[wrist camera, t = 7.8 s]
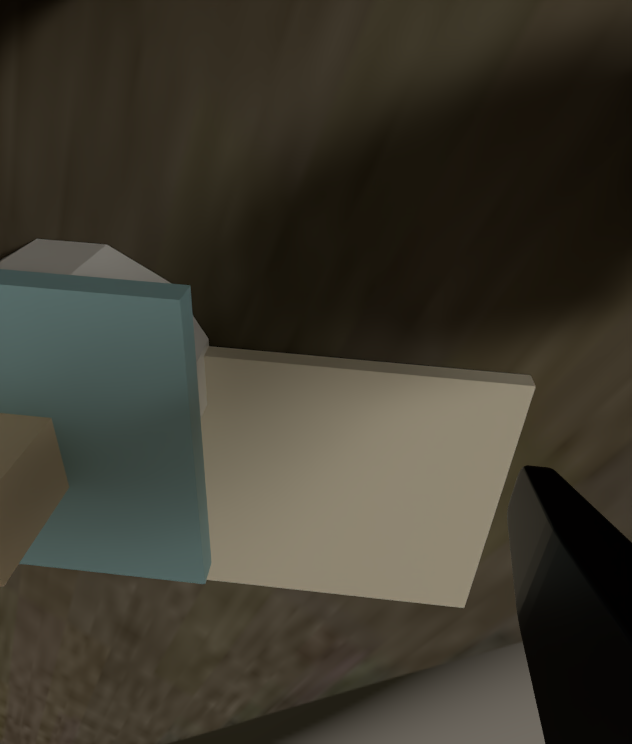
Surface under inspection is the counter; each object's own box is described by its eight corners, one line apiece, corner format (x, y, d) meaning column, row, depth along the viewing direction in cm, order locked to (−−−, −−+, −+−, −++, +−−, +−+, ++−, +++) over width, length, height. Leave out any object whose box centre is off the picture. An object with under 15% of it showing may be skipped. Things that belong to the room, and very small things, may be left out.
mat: (530, 375, 22) (535, 386, 21) (462, 594, 29) (464, 608, 29) (185, 343, 22) (179, 353, 22) (204, 566, 30) (200, 578, 29)
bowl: (203, 252, 20) (158, 311, 16) (215, 457, 26) (184, 542, 21) (-58, 231, 21) (-167, 282, 17) (8, 437, 26) (-62, 515, 22)
